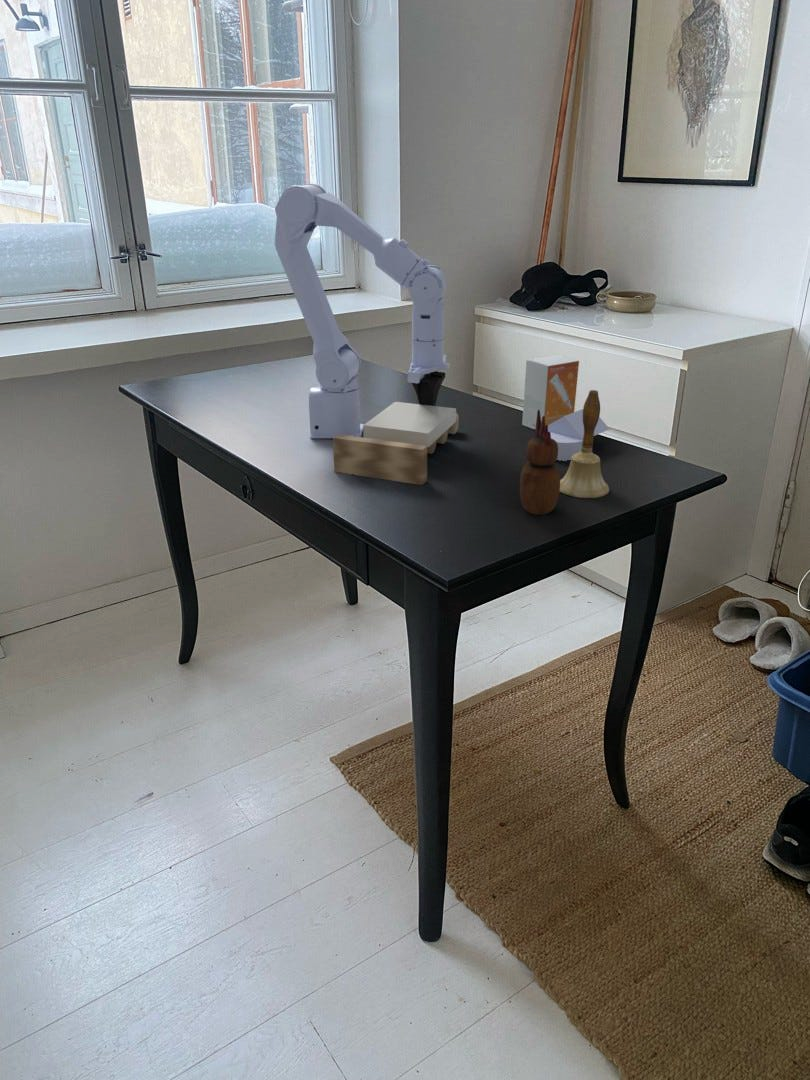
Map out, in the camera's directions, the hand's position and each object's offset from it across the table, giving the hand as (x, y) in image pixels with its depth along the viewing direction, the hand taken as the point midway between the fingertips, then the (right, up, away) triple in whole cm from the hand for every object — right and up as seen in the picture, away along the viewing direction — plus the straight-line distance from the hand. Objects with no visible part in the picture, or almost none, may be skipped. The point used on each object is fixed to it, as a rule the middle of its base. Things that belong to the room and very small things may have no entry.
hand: (427, 412), depth 152 cm
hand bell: (+24, -16, -21) cm, 36 cm away
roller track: (-2, -7, -3) cm, 8 cm away
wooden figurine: (+16, -19, -29) cm, 38 cm away
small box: (+24, -1, +9) cm, 26 cm away
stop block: (-8, -13, -16) cm, 22 cm away
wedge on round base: (+25, -8, -4) cm, 27 cm away
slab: (-3, -4, -6) cm, 8 cm away
